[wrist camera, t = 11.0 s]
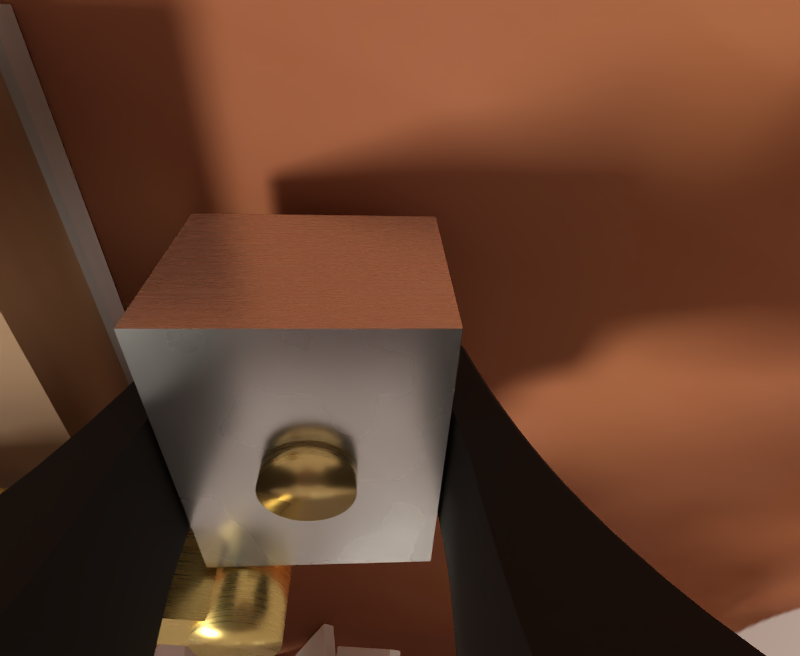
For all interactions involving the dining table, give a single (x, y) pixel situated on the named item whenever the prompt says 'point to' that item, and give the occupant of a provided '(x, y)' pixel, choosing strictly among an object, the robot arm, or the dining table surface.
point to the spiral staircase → (315, 652)
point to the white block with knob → (300, 383)
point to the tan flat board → (47, 280)
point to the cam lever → (224, 606)
